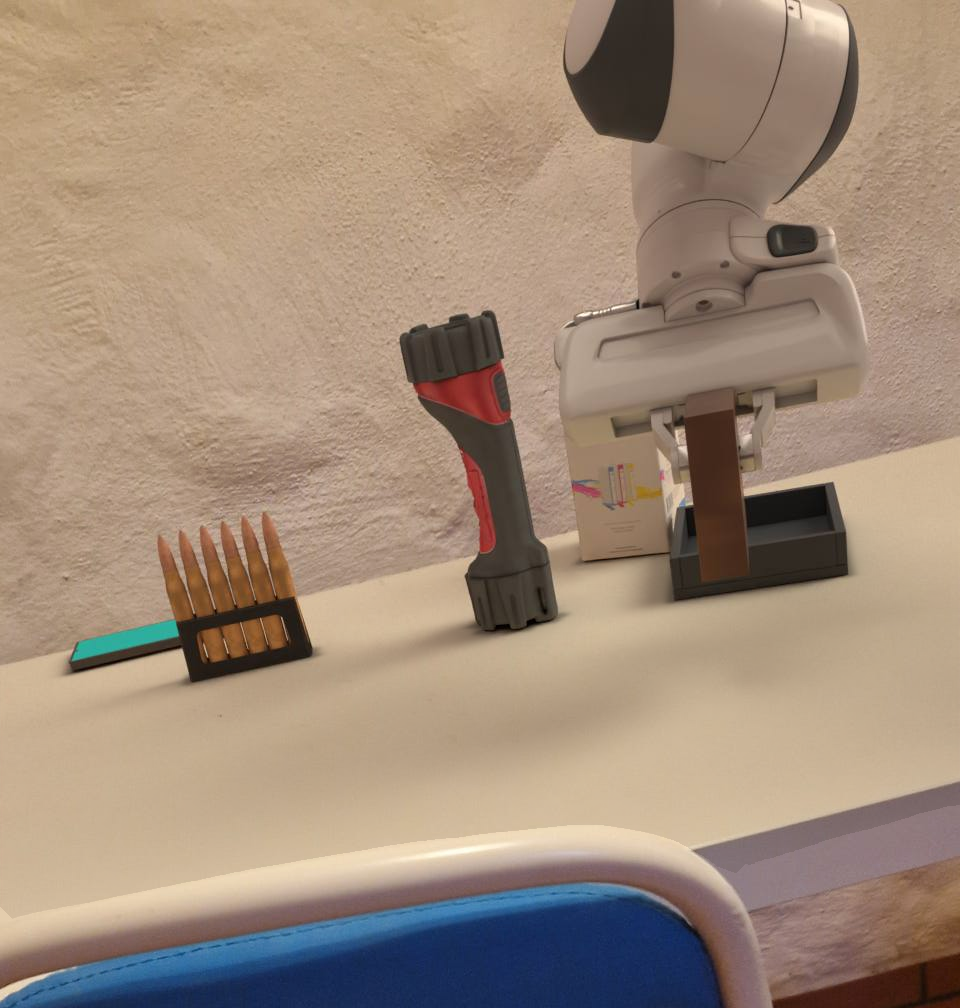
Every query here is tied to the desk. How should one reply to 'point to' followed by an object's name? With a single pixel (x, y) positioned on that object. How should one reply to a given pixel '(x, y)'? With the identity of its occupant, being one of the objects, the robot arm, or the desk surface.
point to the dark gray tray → (770, 542)
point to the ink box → (623, 497)
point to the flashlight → (484, 464)
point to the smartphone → (125, 644)
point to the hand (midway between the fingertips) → (717, 472)
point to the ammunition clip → (227, 611)
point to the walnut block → (717, 484)
